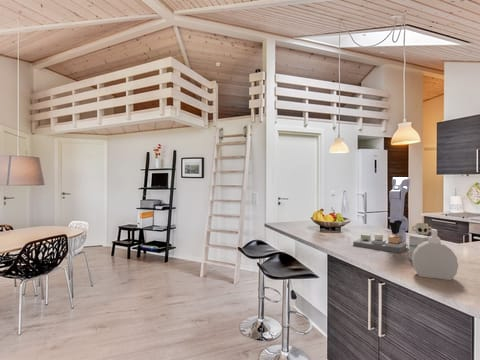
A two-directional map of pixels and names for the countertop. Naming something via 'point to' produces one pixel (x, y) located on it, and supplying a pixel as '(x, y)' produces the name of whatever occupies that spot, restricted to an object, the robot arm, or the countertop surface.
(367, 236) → the pale green block
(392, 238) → the brown rectangular block
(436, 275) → the soap bottle
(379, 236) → the off-white button
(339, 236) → the countertop surface
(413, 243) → the supplement box
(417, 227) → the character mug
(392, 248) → the switch panel
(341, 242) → the countertop surface
